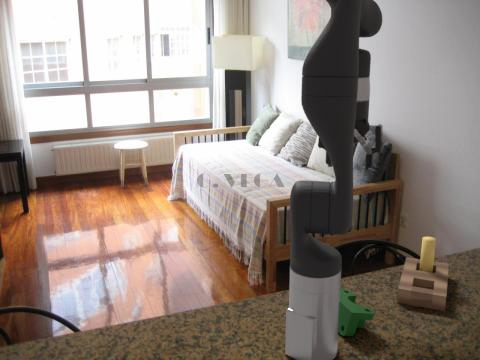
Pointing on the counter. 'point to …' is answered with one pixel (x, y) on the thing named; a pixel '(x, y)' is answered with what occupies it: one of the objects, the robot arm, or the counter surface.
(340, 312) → the clamp
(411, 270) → the hole block
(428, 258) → the peg
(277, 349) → the counter surface
